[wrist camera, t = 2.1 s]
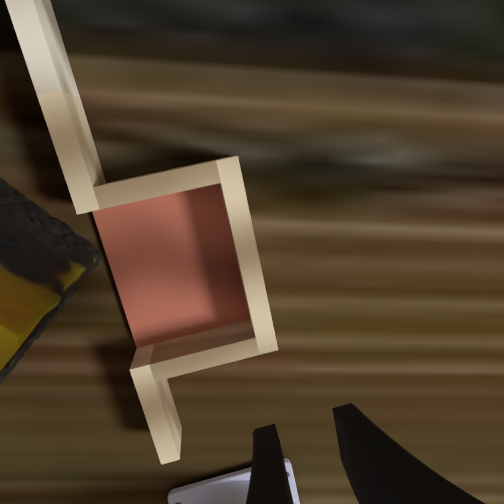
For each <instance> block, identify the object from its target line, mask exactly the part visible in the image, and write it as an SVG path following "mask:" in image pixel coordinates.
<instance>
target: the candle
mask: <svg viewBox="0 0 504 504" xmlns="http://www.w3.org/2000/svg"><path fill="white" fill-rule="evenodd" d="M101 258H102V254H101V253H100V252H99V250H97V249H96V248H95V247H94V246H93V245H92V244H90V243H89V242H88V241H87V240H86V239H84V238H83V237H81V236H79V235H77V234H75V233H74V232H73V231H72V229H71V228H70V227H69V226H68V225H67V224H65V223H64V222H62V221H60V220H59V219H56V218H52V217H50V215H49V214H48V212H47V211H46V210H43V209H41V208H40V207H39V206H38V205H37V204H36V203H35V202H32V201H29V200H28V199H27V198H26V197H25V196H23V195H22V194H21V193H20V192H19V191H18V190H16V189H14V188H12V187H11V186H9V185H8V184H7V183H6V182H5V181H4V179H2V178H0V384H1V383H2V381H3V380H4V379H5V377H6V376H7V375H8V374H9V373H10V372H11V371H12V370H13V368H14V367H15V365H16V364H17V363H18V361H19V360H20V359H21V358H22V357H24V353H25V352H26V350H28V349H29V348H30V346H31V345H32V343H33V341H34V340H36V339H38V338H39V337H40V335H41V333H42V332H43V331H44V329H45V328H46V327H47V325H48V324H49V323H50V322H51V321H52V320H53V319H54V318H55V316H56V315H57V314H58V313H59V312H60V311H61V310H62V308H63V307H64V306H65V305H66V303H67V302H68V301H69V300H70V298H71V297H72V295H73V294H74V291H75V290H76V289H77V288H78V287H79V286H80V285H81V283H82V282H83V281H84V279H85V278H86V276H87V275H88V274H89V273H90V272H91V270H92V269H93V268H94V267H95V266H97V265H98V264H99V263H100V261H101Z"/></svg>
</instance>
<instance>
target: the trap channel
mask: <svg viewBox="0 0 504 504" xmlns="http://www.w3.org/2000/svg"><path fill="white" fill-rule="evenodd" d="M5 2H6V5H7V8H8V11H9V14H10V17H11V20H12V23H13V26H14V29H15V32H16V34H17V37H18V40H19V43H20V46H21V49H22V52H23V55H24V58H25V61H26V64H27V67H28V70H29V73H30V76H31V79H32V82H33V85H34V88H35V91H36V94H37V97H38V100H39V103H40V106H41V109H42V112H43V115H44V118H45V121H46V123H47V126H48V129H49V132H50V135H51V138H52V141H53V144H54V147H55V150H56V153H57V156H58V159H59V162H60V165H61V168H62V171H63V174H64V177H65V180H66V183H67V186H68V189H69V192H70V195H71V198H72V201H73V204H74V207H75V210H76V213H77V214H82V213H86V212H91V211H92V212H93V215H94V218H95V222H96V225H97V228H98V231H99V234H100V237H101V240H102V243H103V246H104V249H105V252H106V255H107V258H108V262H109V265H110V268H111V271H112V274H113V277H114V280H115V283H116V286H117V289H118V292H119V295H120V298H121V301H122V305H123V308H124V311H125V314H126V317H127V320H128V323H129V326H130V329H131V332H132V335H133V338H134V341H135V345H136V351H135V355H134V358H133V361H132V364H131V367H130V373H131V376H132V379H133V382H134V385H135V388H136V391H137V393H138V396H139V399H140V402H141V405H142V408H143V411H144V414H145V417H146V420H147V423H148V426H149V429H150V432H151V435H152V438H153V441H154V444H155V447H156V450H157V453H158V456H159V459H160V462H161V465H162V464H165V463H169V462H173V461H176V460H180V447H181V432H182V427H181V423H180V420H179V417H178V414H177V411H176V407H175V404H174V401H173V398H172V394H171V391H170V388H169V385H168V381H167V378H171V377H175V376H179V375H183V374H186V373H190V372H194V371H198V370H202V369H206V368H210V367H214V366H218V365H221V364H225V363H229V362H233V361H237V360H241V359H245V358H249V357H253V356H256V355H260V354H264V353H268V352H272V351H276V350H278V346H277V342H276V337H275V332H274V327H273V323H272V318H271V313H270V308H269V303H268V299H267V294H266V289H265V284H264V279H263V275H262V270H261V265H260V260H259V256H258V251H257V246H256V241H255V236H254V232H253V227H252V222H251V217H250V212H249V208H248V203H247V198H246V193H245V189H244V184H243V179H242V174H241V169H240V165H239V160H238V156H230V157H226V158H221V159H216V160H212V161H207V162H202V163H198V164H193V165H188V166H184V167H179V168H174V169H170V170H165V171H161V172H156V173H151V174H147V175H142V176H137V177H133V178H128V179H123V180H119V181H114V182H109V183H106V180H105V177H104V174H103V170H102V167H101V164H100V161H99V157H98V154H97V151H96V148H95V144H94V141H93V138H92V135H91V131H90V128H89V125H88V122H87V118H86V115H85V112H84V109H83V106H82V102H81V99H80V96H79V93H78V89H77V86H76V83H75V80H74V76H73V73H72V70H71V67H70V63H69V60H68V57H67V54H66V50H65V47H64V44H63V41H62V37H61V34H60V31H59V28H58V24H57V21H56V18H55V15H54V11H53V8H52V5H51V2H50V0H5Z"/></svg>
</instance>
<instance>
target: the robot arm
mask: <svg viewBox="0 0 504 504" xmlns="http://www.w3.org/2000/svg"><path fill="white" fill-rule="evenodd" d="M333 414H334V420H335V426H336V432H337V438H338V444H339V450H340V456H341V461H342V463H343V466H344V468H345V471H346V474H347V476H348V479H349V481H350V484H351V486H352V489H353V491H354V494H355V496H356V498H357V500H358V502H359V504H485V503H483V502H482V501H480V500H478V499H476V498H475V497H473V496H471V495H470V494H468V493H466V492H465V491H463V490H462V489H460V488H459V487H457V486H455V485H454V484H452V483H451V482H449V481H448V480H446V479H445V478H443V477H442V476H440V475H439V474H437V473H436V472H435V471H433V470H432V469H430V468H429V467H428V466H426V465H425V464H424V463H422V462H421V461H419V460H418V459H417V458H415V457H414V456H413V455H412V454H410V453H409V452H408V451H406V450H405V449H404V448H403V447H401V446H400V445H399V444H398V443H396V442H395V441H394V440H393V439H391V438H390V437H389V436H388V435H387V434H386V433H384V432H383V431H382V430H381V429H380V428H379V427H378V426H376V425H375V424H374V423H373V422H372V421H371V420H370V419H369V418H367V417H366V416H365V415H364V414H363V413H362V412H361V411H360V410H359V409H358V408H357V407H356V406H355V405H353V404H352V403H350V404H347V405H343V406H339V407H335V408H333ZM177 502H179V503H178V504H300V502H299V498H298V493H297V488H296V484H295V479H294V475H293V470H292V466H291V463H290V460H288V459H286V458H283V453H282V449H281V444H280V440H279V437H278V433H277V430H276V427H275V424H272V425H268V426H265V427H261V428H257V429H255V430H254V432H253V458H252V467H250V468H246V469H243V470H239V471H236V472H232V473H228V474H225V475H221V476H218V477H214V478H211V479H207V480H203V481H200V482H196V483H193V484H189V485H186V486H182V487H178V488H175V489H172V490H171V491H170V492H169V494H168V503H169V504H177Z"/></svg>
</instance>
